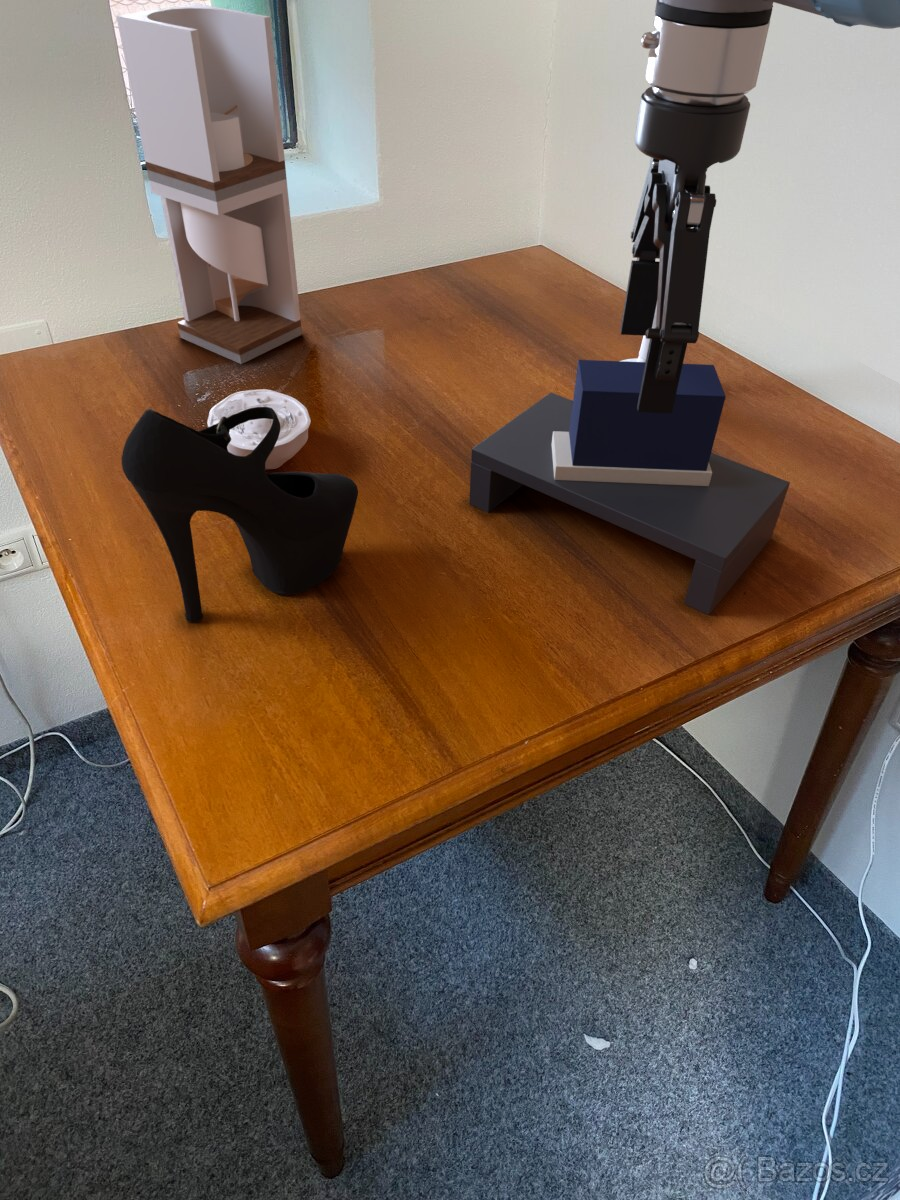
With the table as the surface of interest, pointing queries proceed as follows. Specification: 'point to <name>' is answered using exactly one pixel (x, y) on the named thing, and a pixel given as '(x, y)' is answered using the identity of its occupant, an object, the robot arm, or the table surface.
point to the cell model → (264, 424)
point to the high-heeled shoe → (238, 501)
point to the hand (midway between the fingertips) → (644, 369)
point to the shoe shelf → (640, 499)
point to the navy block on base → (638, 428)
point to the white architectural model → (217, 171)
